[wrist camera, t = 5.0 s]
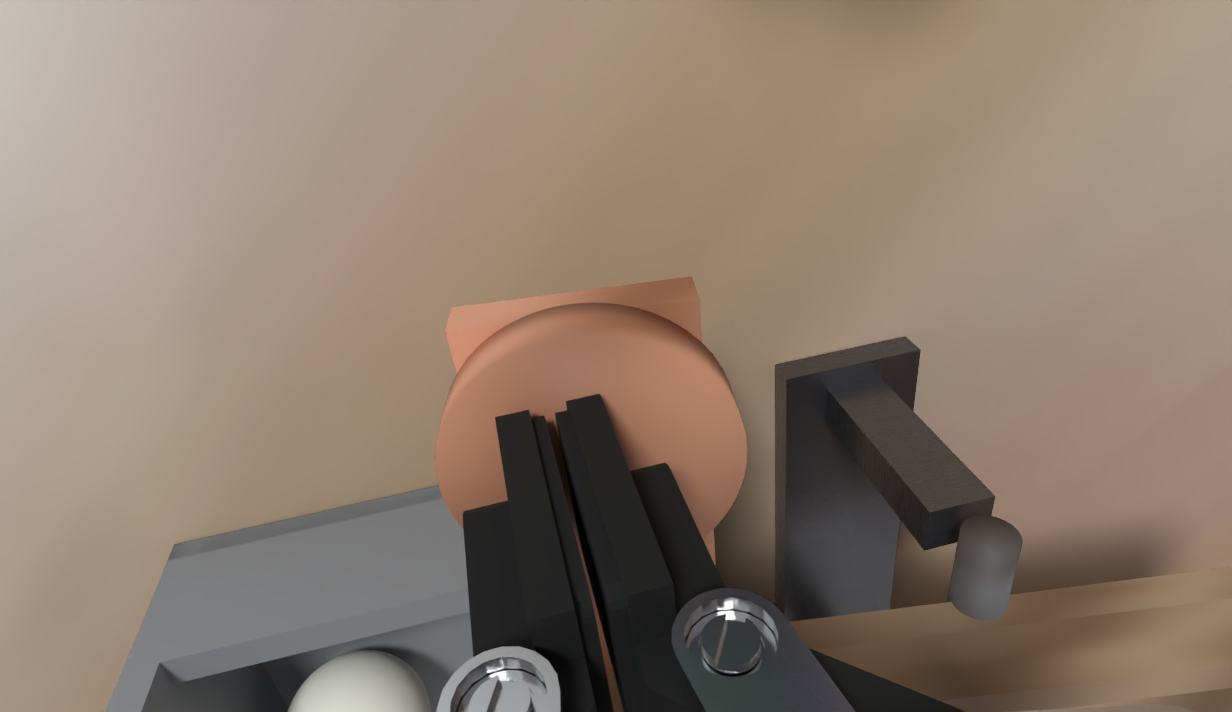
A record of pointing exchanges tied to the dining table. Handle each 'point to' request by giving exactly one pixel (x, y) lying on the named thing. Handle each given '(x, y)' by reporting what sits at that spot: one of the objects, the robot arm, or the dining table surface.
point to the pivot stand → (858, 479)
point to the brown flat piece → (714, 472)
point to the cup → (302, 607)
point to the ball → (362, 686)
